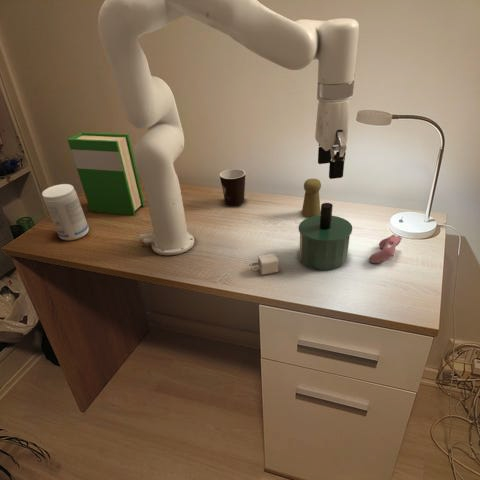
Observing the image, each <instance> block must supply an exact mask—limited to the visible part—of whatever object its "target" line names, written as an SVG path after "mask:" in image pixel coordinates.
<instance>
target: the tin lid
mask: <svg viewBox="0 0 480 480" xmlns="http://www.w3.org/2000/svg"><path fill="white" fill-rule="evenodd" d="M333 206H334V205H333V204H332V203H331V202H323V203H321V204H320V212H321V214H320V215H318V216H312V217H309V218H305V219H303V220H302V221H300V222H299V225H298V233H299V235H300V234H301V235H302V236H303V237H305V238H307V239H309V240H312V241H317V242H336V241H340V240H343V239H345V238H347V237H348V236H349V235H350V236H351V235H352V233H353V224H351V222H350V221H348V220H347V219H346V218H344V217H340V216H337V215H333Z"/></svg>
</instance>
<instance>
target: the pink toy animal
mask: <svg viewBox="0 0 480 480" xmlns="http://www.w3.org/2000/svg"><path fill="white" fill-rule="evenodd" d="M402 240H403V237H402V236H400V235H398V234H396V233H394V234H392V235H390V236H388V237H386V238H384V239H382V240H380V241H379V242H378V246H379V248H381V250H378V251H377V252H375V253H372V254H370V256H369V258H368V261H369V262H370V263H373V264H378V263H382V262H384V261H387V260H388V259H389V258H393V257H395V254H396V253H395V251H396V247H398V246H399V244H400V243H401V241H402Z"/></svg>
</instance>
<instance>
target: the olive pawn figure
mask: <svg viewBox="0 0 480 480" xmlns="http://www.w3.org/2000/svg"><path fill="white" fill-rule="evenodd" d="M321 188H322V183H321V180H320V179H317V178H307V179H306V180H305V181H304V183H303V190H304V198H303V203H302V208H301V216H302V217H304V218H305V219H307V218H309V217H312V216H318V215H321V201H320V190H321Z"/></svg>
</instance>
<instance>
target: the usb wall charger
mask: <svg viewBox="0 0 480 480" xmlns="http://www.w3.org/2000/svg"><path fill="white" fill-rule="evenodd" d="M248 266H249V267H251V268H250V270H251V271H256V270H259V272H260V275H261V276H263V275H269V274H275V273H278V272H279V259H278V257H277V255H276V253H267V254H262V255H258V256H257V261H256V262H251V263H249V265H248Z"/></svg>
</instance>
